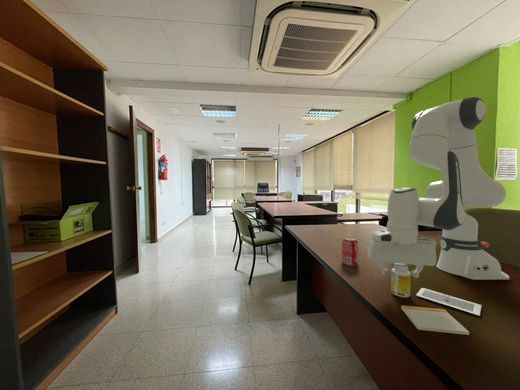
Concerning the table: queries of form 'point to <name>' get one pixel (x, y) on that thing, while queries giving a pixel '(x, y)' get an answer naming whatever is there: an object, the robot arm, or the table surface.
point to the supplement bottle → (400, 280)
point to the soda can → (350, 251)
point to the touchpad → (450, 301)
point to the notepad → (433, 320)
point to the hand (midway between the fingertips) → (399, 275)
